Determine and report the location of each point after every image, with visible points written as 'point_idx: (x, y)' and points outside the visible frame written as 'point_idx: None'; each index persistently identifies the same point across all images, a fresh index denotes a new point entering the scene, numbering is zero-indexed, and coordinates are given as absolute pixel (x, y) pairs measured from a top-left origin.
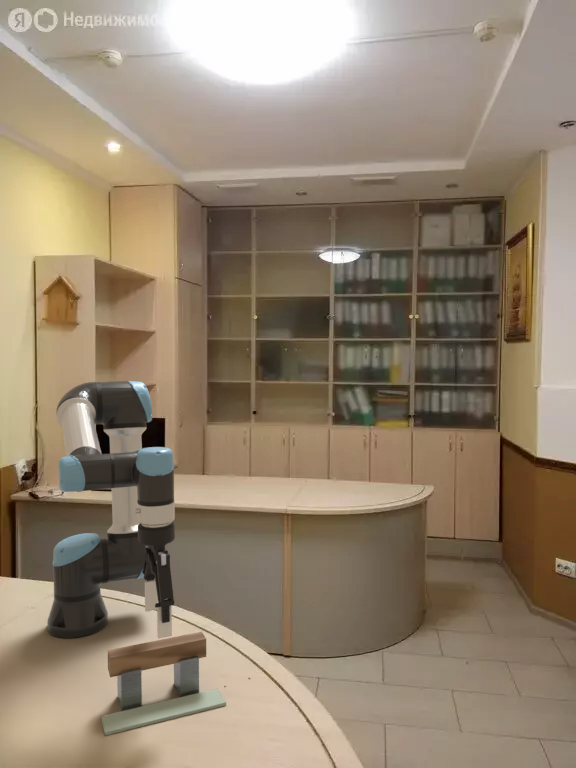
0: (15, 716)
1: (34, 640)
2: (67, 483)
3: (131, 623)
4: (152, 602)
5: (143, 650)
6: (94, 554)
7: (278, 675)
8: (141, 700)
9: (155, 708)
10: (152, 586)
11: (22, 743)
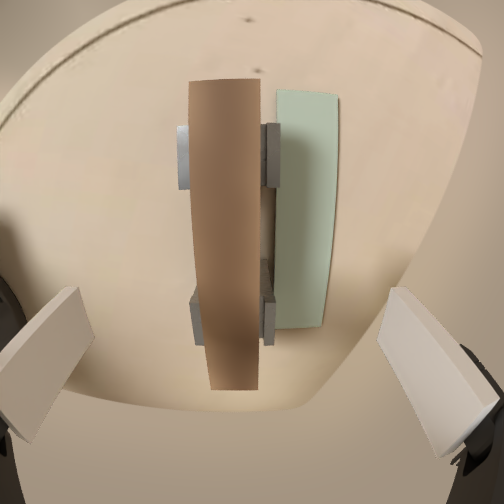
0: (211, 406)
1: None
2: None
3: None
4: (66, 334)
5: (252, 318)
6: None
7: None
8: (267, 265)
9: (295, 239)
10: (20, 392)
11: (276, 400)
